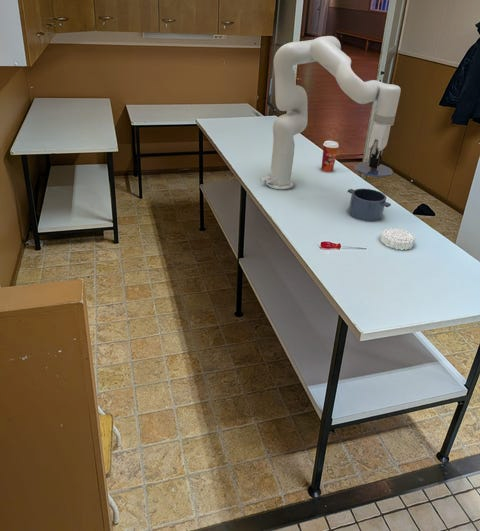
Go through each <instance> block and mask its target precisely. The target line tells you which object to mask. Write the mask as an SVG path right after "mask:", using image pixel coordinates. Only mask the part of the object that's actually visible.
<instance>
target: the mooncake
mask: <svg viewBox="0 0 480 531" xmlns="http://www.w3.org/2000/svg"><path fill="white" fill-rule="evenodd" d="M379 238H380V239H379V240H380V242H381V243H382V245H385V246H386V247H387V248H391V249H395V250H400V251H403V250H406V251H407V250H410V249H412V248H413V247H414V243H415V240H416V237H415V234H413V233H411V232H410V231H408V230H406V229H404V228H399V227H388V228H384V229H383V230H382V231H381V235H380V237H379Z"/></svg>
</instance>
